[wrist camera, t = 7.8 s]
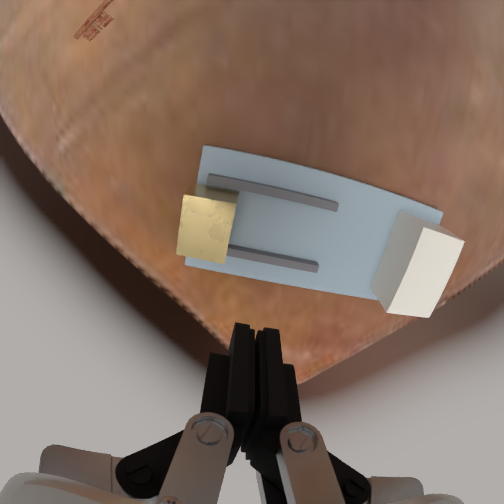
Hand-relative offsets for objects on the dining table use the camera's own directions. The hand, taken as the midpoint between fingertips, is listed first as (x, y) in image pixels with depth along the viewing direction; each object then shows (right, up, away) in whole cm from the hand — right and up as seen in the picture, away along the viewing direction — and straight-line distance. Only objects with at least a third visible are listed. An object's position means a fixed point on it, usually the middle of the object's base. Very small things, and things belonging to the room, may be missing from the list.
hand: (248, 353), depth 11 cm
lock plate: (+7, +6, +18) cm, 20 cm away
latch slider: (-4, +8, +15) cm, 18 cm away
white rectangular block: (+17, +4, +17) cm, 25 cm away
